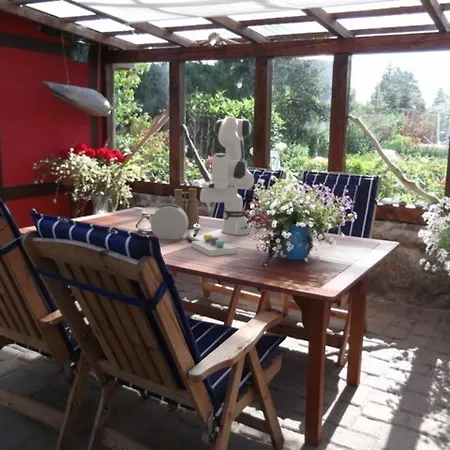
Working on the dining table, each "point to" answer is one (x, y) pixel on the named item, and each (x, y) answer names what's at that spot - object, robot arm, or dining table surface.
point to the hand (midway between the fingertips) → (218, 210)
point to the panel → (213, 248)
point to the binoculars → (188, 205)
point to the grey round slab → (169, 222)
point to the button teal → (220, 243)
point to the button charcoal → (213, 240)
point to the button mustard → (207, 237)
